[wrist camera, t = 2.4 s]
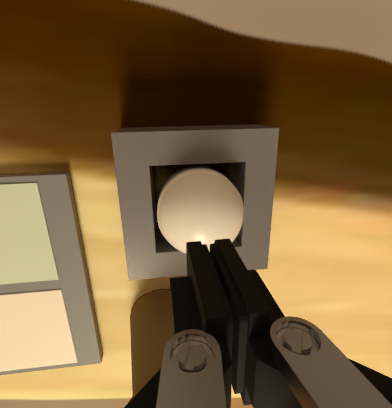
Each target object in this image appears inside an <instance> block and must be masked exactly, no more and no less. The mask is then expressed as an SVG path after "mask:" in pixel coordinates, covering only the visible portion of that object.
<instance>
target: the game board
mask: <svg viewBox="0 0 392 408" xmlns="http://www.w3.org/2000/svg"><path fill="white" fill-rule="evenodd" d="M102 358H103V353H102V348H101V342H100V337H99V331H98V326H97V320H96V315H95V309H94V304H93V298H92V293H91V287H90V282H89V276H88V271H87V265H86V260H85V254H84V249H83V243H82V238H81V232H80V227H79V221H78V216H77V210H76V205H75V199H74V194H73V188H72V183H71V177H70V172H53V173H30V174H6V175H0V375H4V374H13V373H21V372H30V371H38V370H47V369H55V368H64V367H72V366H81V365H89V364H97V363H101V362H102Z"/></svg>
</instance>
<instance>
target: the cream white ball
mask: <svg viewBox="0 0 392 408" xmlns="http://www.w3.org/2000/svg"><path fill="white" fill-rule="evenodd" d="M243 215H244V207H243V201H242V198H241V196H240V194H239V192H238V190H237V189H236V187H235V186H234V185H233V184H232V183H231V182H230V181H229V180H228V179H227V178H226V177H225V176H224V175H223V174H222V173H221V172H219V171H218V170H216V169H213V168H211V167H207V166H199V165H196V166H189V167H185V168H183V169H180V170H178V171H177V172H175V173H174V174H172V175H171V176H170V177H169V178H168V179H167V180H166V181H165V183H164V184H163V186H162V188H161V190H160V193H159V196H158V205H157V220H158V225H159V228H160V230H161V233H162V234H163V236H164V237H165V239H166V240H167V241H168V242H169V243H170V244H171V245H172V246H173V247H174V248H176V249H177V250H179V251H181V252H183V253H186V242H194V241H201V243H202V244H206V245H207V247H208V250H209V252H210V244H214V242H215V240H217V239H230V240H231V242H233V241H234V240H235V238H236V237H237V235H238V233H239V231H240V229H241V227H242V223H243Z"/></svg>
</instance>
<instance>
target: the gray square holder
mask: <svg viewBox="0 0 392 408" xmlns="http://www.w3.org/2000/svg"><path fill="white" fill-rule="evenodd" d="M278 136H279V128H276V127H270V126H265V125H259V124H246V125H208V126H170V127H132V128H119V129H117V130H115V131H113V132H111V138H112V146H113V154H114V162H115V170H116V179H117V187H118V195H119V203H120V211H121V220H122V228H123V236H124V244H125V252H126V260H127V269H128V277H129V281H130V280H142V279H153V278H165V277H176V276H187V256H186V253H183V252H181V251H179V250H177V249H176V248H174V247H173V246H172V245H171V244H170V243H169V242H168V241H167V240H166V239H165V237H164V236H163V234H162V233H161V230H160V228H157V224H156V210H155V197H154V183H153V170H152V166H160V165H184V164H208V163H230V182H231V183H232V184H233V185H234V186H235V187H236V189H237V190H238V192H239V194H240V196H241V198H242V201H243V207H244V215H243V223H242V227H241V229H240V231H239V233H238V235H237V237H236V238H235V240H234V241H233V242H232V244H233V245H234V247H235V249H236V251H237V252H238V254H239V256H240V258H241V259H242V261H243V263H244V265H245V266H246V268H247V270H257V269H267V265H268V253H269V242H270V230H271V218H272V207H273V195H274V183H275V171H276V160H277V148H278Z"/></svg>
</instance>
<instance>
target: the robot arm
mask: <svg viewBox="0 0 392 408" xmlns="http://www.w3.org/2000/svg"><path fill="white" fill-rule="evenodd" d="M186 256H187V276H186V277H176V278H170V294H171V309H172V321H173V332H174V336H173V337H171V338H170V339H169V341H168V342H167V343H166V345H165V348H164V352H163V359H162V366H161V368H160V370H159V371H158V372H157V373H156V374H155V375H154V376H153V377H152V378H151V379H150V380H149V381H148V382H147V384H146V385H145V386H144V387H143V388H142V389H141V390H140V391H139V392H138V393H137V394H136V395H135V397H134V398H133V399H132V400H131V401H130V402H129V403H128V404H127V405H126V406H125V407H124V408H230V406H231V383H232V387H233V390H234V393H235V394H237V393H240V394H241V397H242V400H243V403H244V405H250V404H252V406H253V407H254V408H392V378H389V377H387V376H385V375H383V374H381V373H379V372H376V371H374V370H372V369H370V368H368V367H366V366H363V365H361V364H359V363H357V362H355V361H353V360H350V359H348V358H347V357H346V356H345V355H344V354H343V353H342V352H341V351H340V350H339V349H338V348H337V347H336V346H335V345H334V344H333V342H332V341H331V340H330V339H329V338H328V337H327V336H326V335H325V334H324V333H323V332H322V331H321V330H320V329H319V328H318V327H317V326H315V325H314V324H312V323H311V322H309V321H307V320H304V319H301V318H298V317H285V316H284V315H283V313H282V311H281V310H280V308H279V307H278V305H277V303H276V302H275V300H274V299H273V297H272V295H271V294H270V292H269V290H268V289H267V287H266V286H265V284H264V282H263V281H262V279H261V278H260V276H259V274H258V273H257V272H256V270H247V268H246V266H245V265H244V263H243V261H242V259H241V258H240V256H239V254H238V252H237V251H236V249H235V247H234V245H233V244H232V242H231V240H230V239H217V240H215V242H214V244H210V252H209V250H208V247H207V245H206V244H202V243H201V241H194V242H186Z"/></svg>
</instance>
